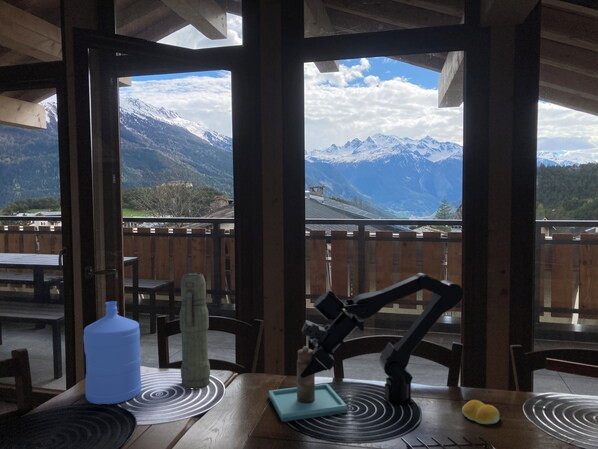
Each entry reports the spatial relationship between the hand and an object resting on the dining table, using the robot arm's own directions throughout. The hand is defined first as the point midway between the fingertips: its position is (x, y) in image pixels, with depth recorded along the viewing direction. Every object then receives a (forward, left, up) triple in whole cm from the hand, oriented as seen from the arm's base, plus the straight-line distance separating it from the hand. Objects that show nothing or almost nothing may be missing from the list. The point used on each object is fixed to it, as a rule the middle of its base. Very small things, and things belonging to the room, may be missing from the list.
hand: (300, 370), depth 134 cm
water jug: (+52, -23, -10) cm, 57 cm away
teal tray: (-1, +1, -9) cm, 10 cm away
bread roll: (-43, +22, -10) cm, 49 cm away
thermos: (+28, -24, -10) cm, 38 cm away
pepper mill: (-1, 0, -8) cm, 9 cm away
